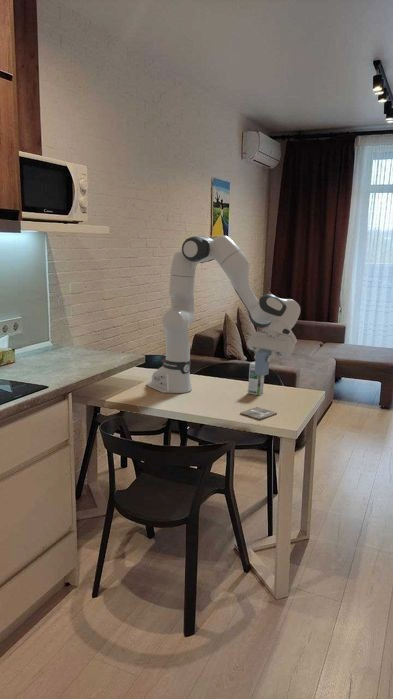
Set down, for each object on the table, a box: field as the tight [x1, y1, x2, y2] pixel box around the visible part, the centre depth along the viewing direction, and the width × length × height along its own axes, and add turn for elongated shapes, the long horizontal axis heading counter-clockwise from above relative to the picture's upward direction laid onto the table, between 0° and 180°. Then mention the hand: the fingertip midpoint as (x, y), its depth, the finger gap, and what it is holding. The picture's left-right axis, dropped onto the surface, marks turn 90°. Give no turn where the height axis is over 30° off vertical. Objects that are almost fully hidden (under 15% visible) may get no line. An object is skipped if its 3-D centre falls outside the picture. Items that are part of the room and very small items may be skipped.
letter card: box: [239, 406, 278, 421], centre depth 217 cm, size 10×12×1 cm
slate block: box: [254, 351, 271, 377], centre depth 213 cm, size 4×4×9 cm
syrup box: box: [247, 361, 265, 396], centre depth 246 cm, size 6×6×14 cm
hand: (261, 360), depth 212 cm, fingers closed on slate block, 4 cm apart
